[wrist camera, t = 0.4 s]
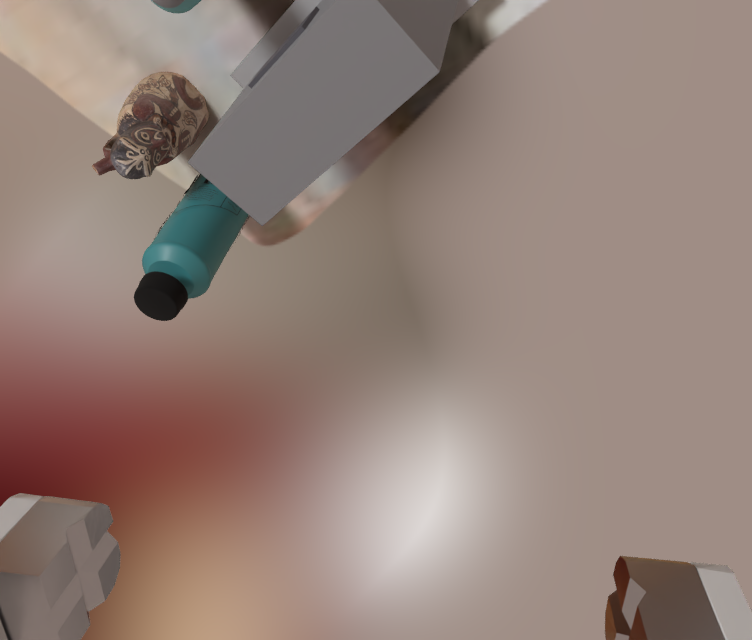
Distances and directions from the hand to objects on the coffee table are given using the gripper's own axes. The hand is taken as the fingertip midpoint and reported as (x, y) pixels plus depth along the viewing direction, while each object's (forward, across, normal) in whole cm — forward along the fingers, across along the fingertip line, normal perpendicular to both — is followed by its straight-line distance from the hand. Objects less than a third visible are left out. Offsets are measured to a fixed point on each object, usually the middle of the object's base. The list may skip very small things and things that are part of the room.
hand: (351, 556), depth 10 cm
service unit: (+52, +9, -7) cm, 53 cm away
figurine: (+55, +27, 0) cm, 61 cm away
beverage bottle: (+57, +23, +8) cm, 62 cm away
